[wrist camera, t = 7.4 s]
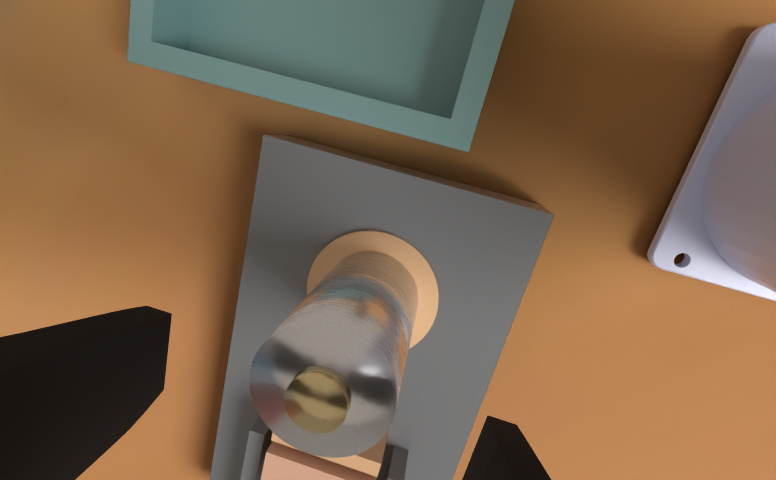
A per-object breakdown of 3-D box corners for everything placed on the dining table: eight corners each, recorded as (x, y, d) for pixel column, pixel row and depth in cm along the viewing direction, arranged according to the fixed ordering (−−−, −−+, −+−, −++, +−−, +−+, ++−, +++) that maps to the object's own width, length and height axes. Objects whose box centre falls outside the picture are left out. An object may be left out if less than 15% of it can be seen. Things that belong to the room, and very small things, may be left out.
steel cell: (429, 267, 14) (412, 362, 8) (404, 351, 14) (372, 492, 9) (335, 239, 14) (253, 311, 8) (316, 323, 15) (230, 442, 9)
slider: (383, 446, 16) (374, 489, 14) (366, 502, 16) (354, 550, 14) (288, 414, 16) (266, 451, 14) (276, 470, 17) (253, 513, 15)
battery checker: (540, 204, 15) (571, 228, 11) (412, 549, 20) (402, 649, 16) (286, 135, 15) (232, 134, 12) (226, 483, 20) (174, 562, 17)
